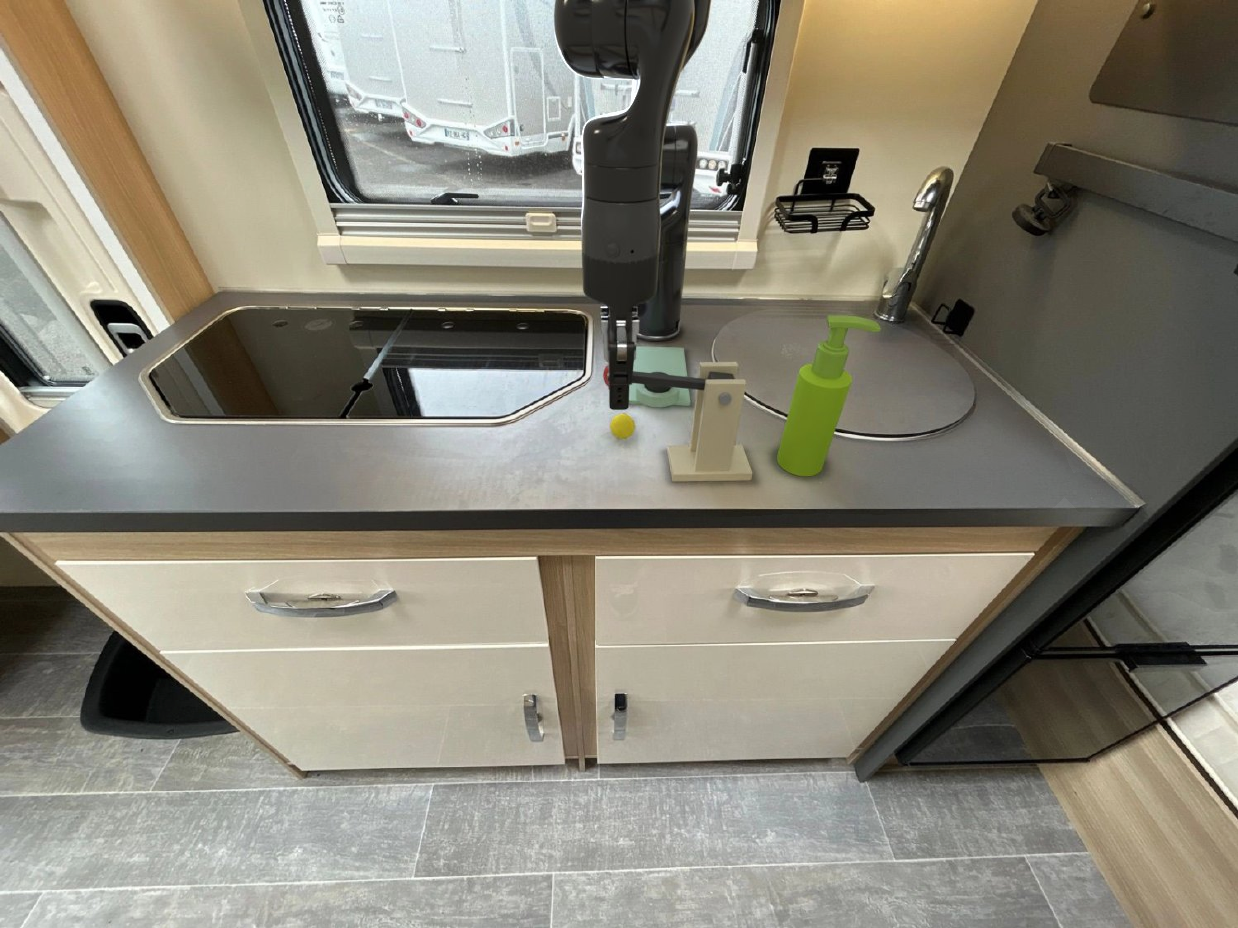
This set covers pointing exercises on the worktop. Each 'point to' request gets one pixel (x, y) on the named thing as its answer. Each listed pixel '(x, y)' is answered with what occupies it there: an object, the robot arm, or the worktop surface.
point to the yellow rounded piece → (622, 426)
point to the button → (657, 388)
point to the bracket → (713, 431)
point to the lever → (672, 379)
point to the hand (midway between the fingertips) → (618, 398)
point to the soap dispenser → (819, 400)
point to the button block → (659, 361)
